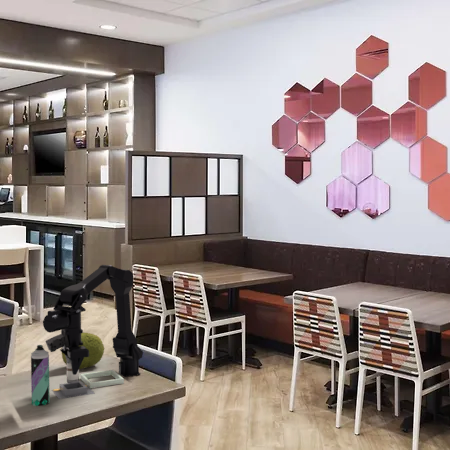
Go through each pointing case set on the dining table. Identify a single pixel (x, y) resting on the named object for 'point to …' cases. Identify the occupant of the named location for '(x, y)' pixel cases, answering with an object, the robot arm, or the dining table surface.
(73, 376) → the cylinder
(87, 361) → the fruit
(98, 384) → the tray
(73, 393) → the holder
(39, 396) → the spray can
